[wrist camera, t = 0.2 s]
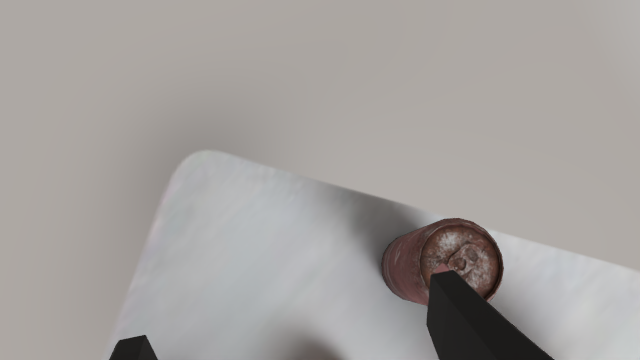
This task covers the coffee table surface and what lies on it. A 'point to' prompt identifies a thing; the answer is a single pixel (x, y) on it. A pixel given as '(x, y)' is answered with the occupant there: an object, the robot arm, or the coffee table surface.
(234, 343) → the coffee table surface
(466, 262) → the can
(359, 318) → the coffee table surface
